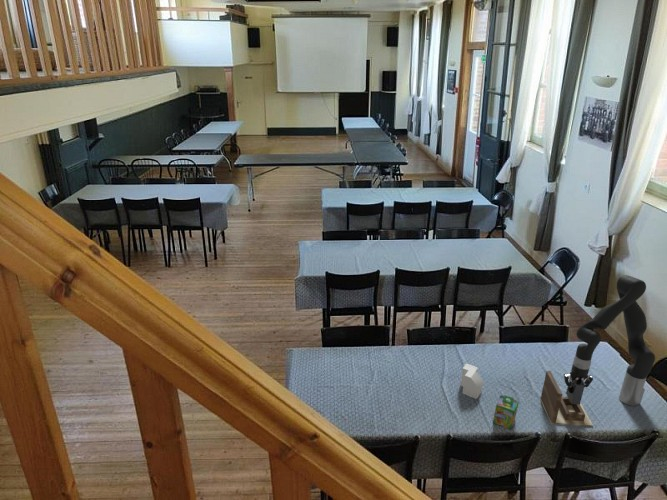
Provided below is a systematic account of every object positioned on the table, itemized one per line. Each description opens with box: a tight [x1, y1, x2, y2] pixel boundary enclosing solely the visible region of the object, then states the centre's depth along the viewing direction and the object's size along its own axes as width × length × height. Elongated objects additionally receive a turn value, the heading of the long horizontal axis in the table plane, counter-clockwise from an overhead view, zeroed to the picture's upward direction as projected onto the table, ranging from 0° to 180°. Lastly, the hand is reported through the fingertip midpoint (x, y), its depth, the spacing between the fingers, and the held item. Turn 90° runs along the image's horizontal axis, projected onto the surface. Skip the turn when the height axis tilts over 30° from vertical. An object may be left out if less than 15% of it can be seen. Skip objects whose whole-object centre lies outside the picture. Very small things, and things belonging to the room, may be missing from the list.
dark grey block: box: [565, 377, 586, 405], centre depth 244 cm, size 4×8×12 cm, turn 175°
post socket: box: [540, 370, 594, 427], centre depth 246 cm, size 20×18×19 cm
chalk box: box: [492, 395, 519, 430], centre depth 241 cm, size 9×9×15 cm
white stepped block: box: [460, 363, 484, 400], centre depth 264 cm, size 11×11×12 cm
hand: (574, 392), depth 245 cm, fingers closed on dark grey block, 4 cm apart
